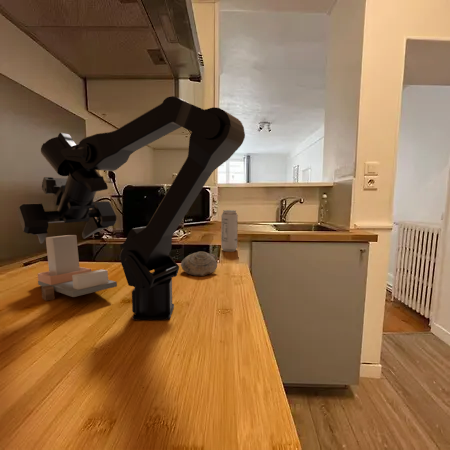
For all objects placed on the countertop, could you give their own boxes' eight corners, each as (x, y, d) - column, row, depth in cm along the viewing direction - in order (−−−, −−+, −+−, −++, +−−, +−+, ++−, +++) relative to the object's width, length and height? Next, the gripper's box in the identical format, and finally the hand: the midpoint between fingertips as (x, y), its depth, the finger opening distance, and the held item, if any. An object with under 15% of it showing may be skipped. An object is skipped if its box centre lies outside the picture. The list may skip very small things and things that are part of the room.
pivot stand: (105, 286, 71) (105, 276, 71) (46, 301, 62) (45, 289, 62) (100, 284, 73) (100, 274, 73) (42, 298, 64) (41, 287, 63)
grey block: (80, 277, 71) (76, 235, 71) (57, 282, 68) (53, 237, 67) (72, 275, 75) (68, 235, 74) (49, 279, 71) (45, 237, 71)
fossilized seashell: (172, 267, 83) (181, 243, 84) (192, 271, 92) (200, 249, 93) (203, 280, 78) (212, 254, 79) (221, 283, 87) (229, 260, 88)
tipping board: (116, 286, 63) (115, 269, 63) (73, 297, 57) (71, 278, 57) (77, 277, 78) (75, 263, 77) (38, 284, 71) (36, 269, 71)
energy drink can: (239, 251, 112) (239, 211, 110) (223, 252, 111) (223, 211, 109) (234, 248, 118) (235, 210, 116) (219, 249, 117) (219, 210, 115)
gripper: (109, 167, 71) (91, 211, 80) (15, 161, 58) (6, 215, 67) (127, 201, 67) (106, 244, 76) (31, 204, 53) (18, 256, 62)
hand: (62, 239), depth 70 cm, fingers open, 9 cm apart
